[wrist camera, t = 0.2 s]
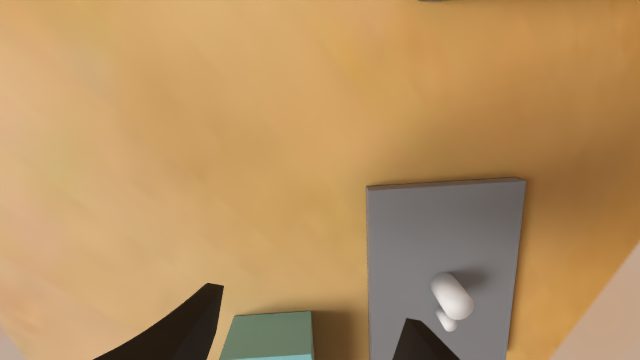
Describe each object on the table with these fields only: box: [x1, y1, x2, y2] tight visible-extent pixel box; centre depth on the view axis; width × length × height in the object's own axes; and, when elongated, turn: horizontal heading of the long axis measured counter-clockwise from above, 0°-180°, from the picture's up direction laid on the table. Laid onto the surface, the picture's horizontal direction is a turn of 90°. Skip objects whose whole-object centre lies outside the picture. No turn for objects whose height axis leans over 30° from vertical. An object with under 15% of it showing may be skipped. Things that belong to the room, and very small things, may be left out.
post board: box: [366, 177, 526, 360], centre depth 21 cm, size 14×10×4 cm
